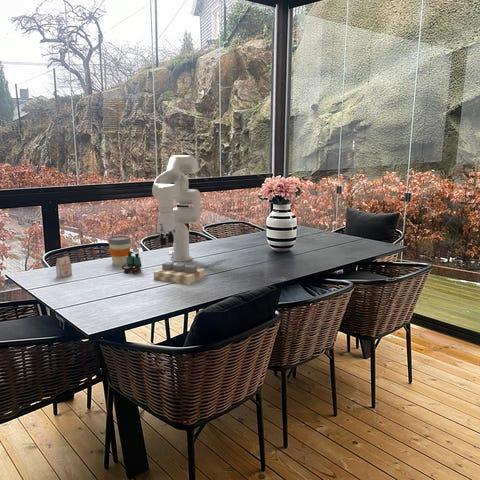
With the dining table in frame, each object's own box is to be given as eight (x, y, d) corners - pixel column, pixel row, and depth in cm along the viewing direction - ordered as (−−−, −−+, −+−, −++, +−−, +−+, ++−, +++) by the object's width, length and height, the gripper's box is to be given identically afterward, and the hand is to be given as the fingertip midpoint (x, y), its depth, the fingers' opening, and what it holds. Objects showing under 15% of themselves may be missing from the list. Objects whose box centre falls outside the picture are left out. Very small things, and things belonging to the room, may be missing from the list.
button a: (162, 271, 253) (162, 263, 253) (167, 269, 257) (166, 262, 257) (169, 272, 252) (169, 264, 251) (174, 270, 256) (173, 262, 255)
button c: (185, 274, 248) (185, 266, 247) (189, 272, 252) (189, 264, 251) (192, 275, 246) (192, 267, 245) (197, 273, 250) (196, 265, 249)
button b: (173, 272, 251) (173, 265, 250) (178, 270, 254) (178, 263, 254) (180, 273, 249) (180, 266, 248) (185, 271, 253) (185, 264, 252)
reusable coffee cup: (112, 266, 274) (110, 241, 271) (107, 261, 285) (105, 237, 282) (134, 264, 280) (132, 238, 277) (128, 259, 291) (127, 235, 288)
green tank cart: (118, 256, 257) (128, 251, 266) (120, 275, 260) (130, 269, 269) (133, 258, 254) (142, 252, 263) (135, 276, 257) (144, 270, 266)
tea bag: (56, 276, 255) (55, 258, 253) (68, 273, 260) (66, 255, 258) (60, 277, 253) (59, 259, 251) (72, 275, 258) (70, 256, 256)
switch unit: (154, 279, 249) (153, 271, 249) (171, 271, 264) (170, 264, 263) (189, 284, 241) (189, 276, 240) (204, 276, 255) (204, 268, 254)
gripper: (169, 207, 257) (170, 240, 261) (150, 211, 242) (151, 246, 245) (181, 208, 254) (182, 241, 258) (162, 212, 239) (164, 247, 242)
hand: (167, 243), depth 251 cm, fingers open, 6 cm apart
